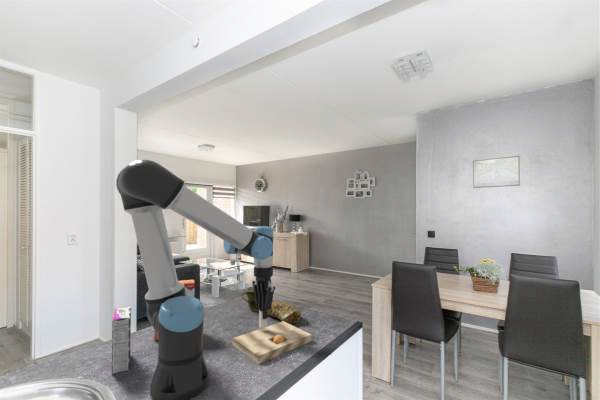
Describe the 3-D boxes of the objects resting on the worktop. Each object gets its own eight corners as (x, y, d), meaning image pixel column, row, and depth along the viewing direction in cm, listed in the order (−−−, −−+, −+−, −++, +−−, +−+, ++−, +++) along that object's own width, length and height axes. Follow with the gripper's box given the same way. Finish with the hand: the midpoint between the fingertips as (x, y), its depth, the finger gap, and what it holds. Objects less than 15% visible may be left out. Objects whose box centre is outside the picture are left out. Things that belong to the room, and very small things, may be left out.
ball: (274, 335, 103) (269, 339, 105) (279, 346, 101) (274, 350, 103) (283, 331, 106) (278, 335, 108) (287, 342, 104) (282, 346, 106)
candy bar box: (113, 358, 95) (114, 308, 96) (130, 354, 98) (131, 306, 98) (110, 375, 85) (111, 319, 86) (129, 370, 88) (131, 316, 88)
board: (258, 363, 92) (258, 356, 92) (232, 345, 105) (232, 338, 105) (311, 341, 109) (311, 334, 109) (283, 327, 121) (283, 321, 121)
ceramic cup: (259, 304, 150) (259, 285, 150) (269, 309, 142) (269, 289, 142) (236, 309, 142) (236, 289, 142) (246, 315, 134) (246, 294, 134)
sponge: (304, 324, 127) (284, 302, 144) (303, 309, 125) (283, 288, 142) (277, 335, 121) (260, 311, 138) (275, 319, 119) (258, 297, 137)
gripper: (281, 267, 110) (280, 329, 109) (262, 262, 120) (261, 319, 119) (264, 269, 105) (264, 334, 105) (246, 264, 115) (246, 323, 114)
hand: (262, 326), depth 112 cm, fingers closed
